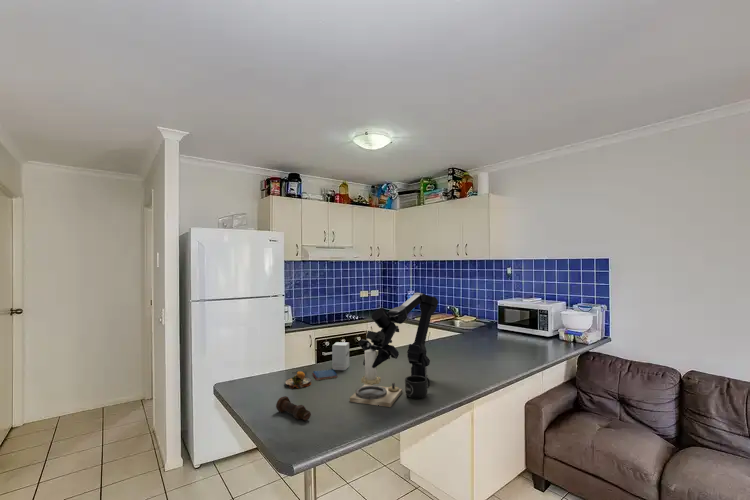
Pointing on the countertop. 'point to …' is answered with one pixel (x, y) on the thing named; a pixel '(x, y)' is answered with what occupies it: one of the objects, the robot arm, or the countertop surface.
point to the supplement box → (340, 356)
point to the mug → (416, 386)
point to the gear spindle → (370, 369)
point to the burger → (298, 381)
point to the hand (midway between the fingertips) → (368, 366)
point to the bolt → (292, 408)
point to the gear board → (376, 395)
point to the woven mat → (324, 374)
